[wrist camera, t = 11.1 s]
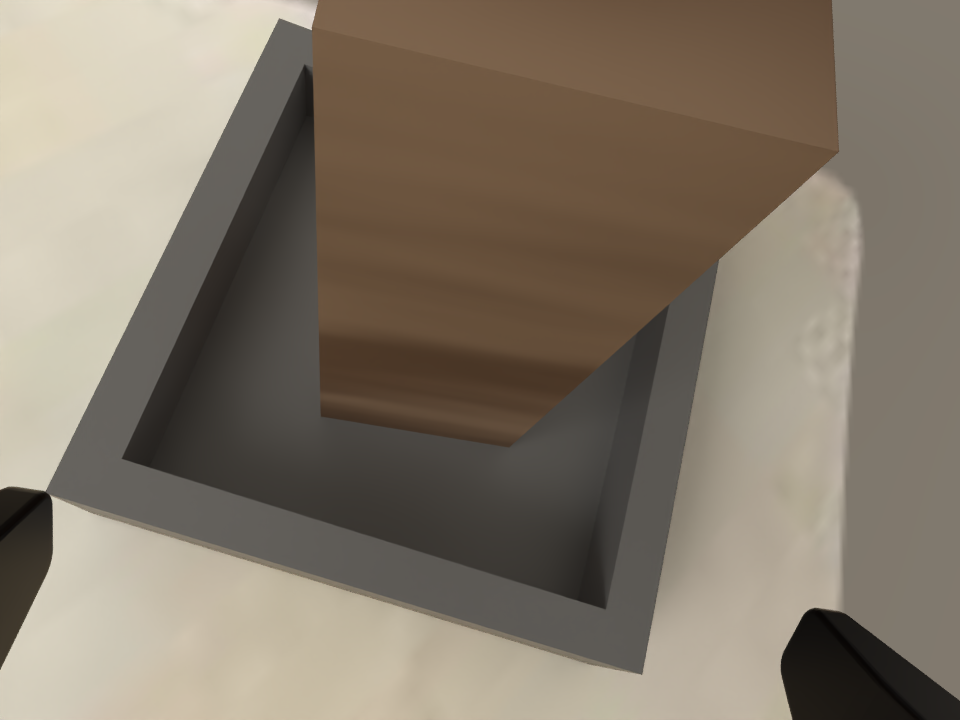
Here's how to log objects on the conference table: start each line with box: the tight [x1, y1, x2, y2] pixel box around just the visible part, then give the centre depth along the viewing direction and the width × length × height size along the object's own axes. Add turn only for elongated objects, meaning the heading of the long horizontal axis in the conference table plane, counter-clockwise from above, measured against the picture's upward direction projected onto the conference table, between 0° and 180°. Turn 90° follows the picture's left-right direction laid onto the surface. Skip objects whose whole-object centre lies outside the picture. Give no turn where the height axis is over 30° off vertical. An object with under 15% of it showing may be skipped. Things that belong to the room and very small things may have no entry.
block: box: [312, 0, 839, 447], centre depth 12 cm, size 4×4×14 cm
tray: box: [46, 18, 719, 675], centre depth 18 cm, size 12×12×3 cm
